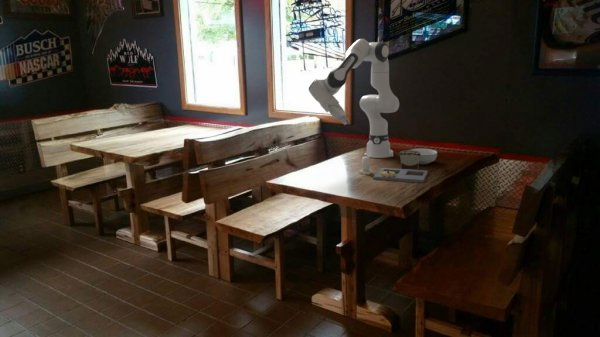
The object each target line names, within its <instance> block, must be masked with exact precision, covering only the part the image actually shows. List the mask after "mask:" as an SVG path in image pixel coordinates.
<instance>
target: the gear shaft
mask: <svg viewBox="0 0 600 337" xmlns="http://www.w3.org/2000/svg"><path fill="white" fill-rule="evenodd" d="M361 159H362V160H361V163H362V164H361V169H359V170H358V173H359V174H360V175H368V176H369V175H372V174H373V169H370V157H368V156H362V157H361Z"/></svg>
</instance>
